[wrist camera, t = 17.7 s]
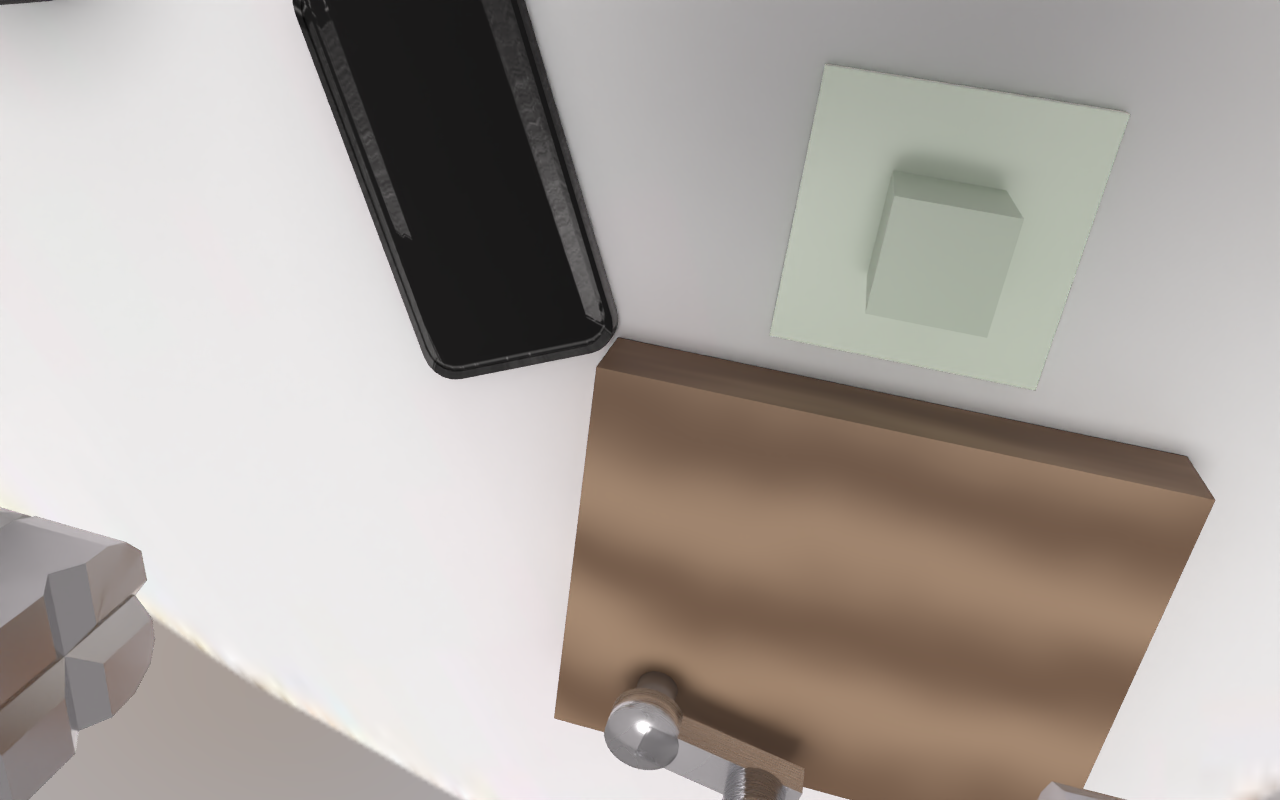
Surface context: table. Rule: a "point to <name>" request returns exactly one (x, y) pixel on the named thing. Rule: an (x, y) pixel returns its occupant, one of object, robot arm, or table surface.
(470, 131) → the phone
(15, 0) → the travel mug
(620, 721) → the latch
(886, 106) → the cover
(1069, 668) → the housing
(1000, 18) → the table surface
